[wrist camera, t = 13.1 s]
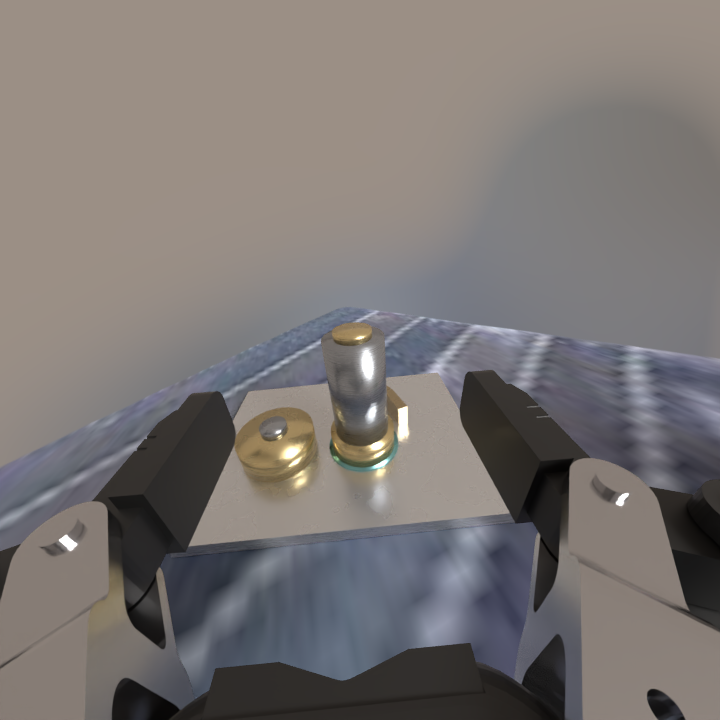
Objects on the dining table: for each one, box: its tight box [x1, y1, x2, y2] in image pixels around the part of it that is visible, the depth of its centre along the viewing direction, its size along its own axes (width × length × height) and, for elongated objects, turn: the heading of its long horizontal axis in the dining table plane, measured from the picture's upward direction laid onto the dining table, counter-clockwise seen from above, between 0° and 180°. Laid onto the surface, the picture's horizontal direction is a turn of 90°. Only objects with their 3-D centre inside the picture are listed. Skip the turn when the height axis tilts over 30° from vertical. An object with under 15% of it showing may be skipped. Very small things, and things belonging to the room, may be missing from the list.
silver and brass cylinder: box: [321, 323, 394, 468], centre depth 23 cm, size 6×6×12 cm
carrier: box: [169, 373, 515, 558], centre depth 27 cm, size 25×19×4 cm
